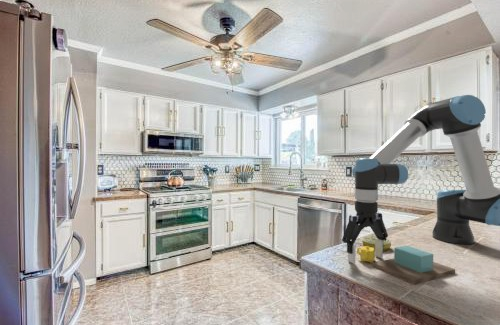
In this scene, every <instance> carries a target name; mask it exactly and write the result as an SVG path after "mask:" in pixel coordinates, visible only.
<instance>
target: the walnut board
mask: <svg viewBox="0 0 500 325" xmlns="http://www.w3.org/2000/svg"><path fill="white" fill-rule="evenodd" d="M372 264H373V265H372V266H373V267H375V268H376V269H379V270H381V271H383V272H385V273H387V274H390V275H393V276H394V277H397V278H398V279H401V280H402V281H405V282H408V283H410V284H412V285H417V284H420V283H424V282H425V283H426V282H428V281H432V280H436V279H439V278H442V277H445V276H449V275H453V274H455V273H456V269H455V268H453V267H450V266H447V265H444V264H441V263H438V262H435V261H433V270H430V271H426V272H423V273H420V272H417V271H415V270H412V269H410V268H407V267H405V266H402V265H400V264H397V263H395V262H394V257H393V258H390V259H385V260H380V261H376V262H375V261H374V262H372Z"/></svg>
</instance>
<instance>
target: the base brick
mask: <svg viewBox="0 0 500 325" xmlns="http://www.w3.org/2000/svg"><path fill="white" fill-rule="evenodd" d="M393 251H394V254H393V255H394V257H393V258H394V262H395V263H397V264H400V265H402V266H405V267H407V268H410V269H412V270H415V271H417V272H420V273H423V272H426V271H430V270H433V262H434V253H431V252H428V251H425V250H422V249H418V248H415V247H412V246H409V245H402V246H397V247H394V250H393Z"/></svg>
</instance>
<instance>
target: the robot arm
mask: <svg viewBox="0 0 500 325" xmlns="http://www.w3.org/2000/svg"><path fill="white" fill-rule="evenodd" d="M486 113H487V112H486V107H485V105H484V103H483V101H482V100H481V99H480V98H479V97H478V96H475V95H472V94H466V95H464V94H463V95H457V96H453V97H450V98H445V99H442V100H439V101H434V102H431V103H428V104H426V105H425V106H423V107H422V108H420V109H418V110H417V111H416V112H414V113H413V114H412V115H411V116H409V118H407V119H406V120H405V122H404V125H403V126H402V127H401V128H400V129H399V130H398V131H397V132H396V133H395V134H394V135H392V136H391V137H390V138H389V139H388V140H387V141H386V142H385V143H383V145H382V146H381V147H380V148H378V149H377V150H376V151H375V152H374V153H373V154H372V155H371V156H369V157H368V158H364V157H363V158H357V159H356V160H355V165H354V166H353V167H352V170H351V172H352V176H353V178H354V184H355V185H354V192H355V193H354V199H355V200H354V211H355V212H356V214H355V215H353V214H349V216H348V223H347V225H346V228H345V230H344V233H343V236H342V239H341V241H342V243H346V253H347V262H349V263H351V264H353V265H354V264H356V254H357V248H356V247H357V246H356V244H355V242H356V240H357V239H358V237H359V236H360V233H361V232H362V230H364V229H365V228H368V227H369V228H370V229H371V230H372V232H373V233H374V235H375V237H377V238H378V239H377V238H376V239H375V250H374V251H375V257H376V258H379V259H383V258H384V257H383V256H384V254H383V253H384V251H383V240H386V239H387V238H388V237H389V235H388V232H387V228H386V225H385V223H384V220H383V214H382V213H380V212H378V209H379V207H378V205H379V204H378V202H377V201H378V200H379V185H401V184H405V183H406V182H407V181H408V179H409V169H408V168H407V167H406V166H405V165H404V164H400V163H399V164H398V163H393V161H395V160H396V159H397V158H398V157H399V156H400V155H401V154H402V153H403V152H405V150H407V149H408V148H409V147H410V146H411V145H412V144H413V143H414V142H416V140H417V139H418V138H421V137H424V136H426V134H427V133H430V132H431V131H435V130H441V129H442V132H443V135H444V136H446V137H449V138H450V141H451V142H450V143H451V145H452V148H453V151H454V154H455V155H454V156H455V157H456V161H457V163H458V168H459V170H460V174H461V177H462V180H463V184H464V186H465V189H444V190H442V189H441V190H439V191H438V192H437V194H436V223H435V225H434V227H433V230H432V238H434V239H436V240H438V241H441V242H445V243H449V244H450V243H451V244H458V245H473V244H475V236H474V234H473V231H472V228H471V226H470V221H471V222H476V223H481V224H485V225H488V226H496V227H500V188H498V187H496V186H495V185H494V181H493V178H492V174H491V172H490V168H489V166H488V162H487V159H486V155H485V152H484V149H483V145H482V141H481V138H480V136H479V132H478V130H479V129H480V128H481V126H482V124H481V123H482V122H483V121H484V120H485V119H486V118H485V117H486V115H485V114H486Z"/></svg>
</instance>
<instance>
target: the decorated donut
mask: <svg viewBox="0 0 500 325" xmlns="http://www.w3.org/2000/svg"><path fill="white" fill-rule="evenodd" d="M376 238H377V237H376V235H375V236H373V235H372V236H364V237H362V239H361V242H362V245H363V246H369V247H372V248H374V251H375V239H376ZM377 239H378V238H377ZM391 246H392V242H391V240H389V239H387V238H386V240H383V252H384V251H388V250H389V249H390V248H392V247H391Z"/></svg>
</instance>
